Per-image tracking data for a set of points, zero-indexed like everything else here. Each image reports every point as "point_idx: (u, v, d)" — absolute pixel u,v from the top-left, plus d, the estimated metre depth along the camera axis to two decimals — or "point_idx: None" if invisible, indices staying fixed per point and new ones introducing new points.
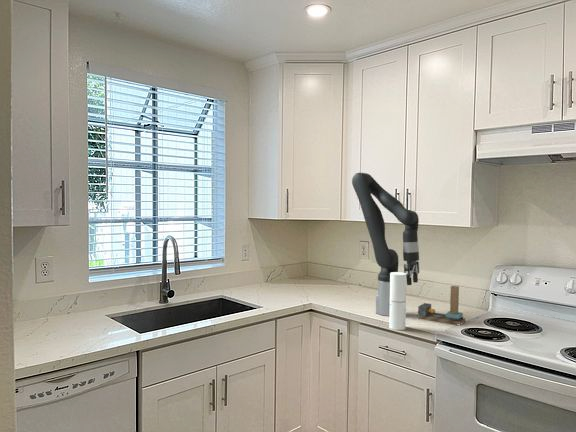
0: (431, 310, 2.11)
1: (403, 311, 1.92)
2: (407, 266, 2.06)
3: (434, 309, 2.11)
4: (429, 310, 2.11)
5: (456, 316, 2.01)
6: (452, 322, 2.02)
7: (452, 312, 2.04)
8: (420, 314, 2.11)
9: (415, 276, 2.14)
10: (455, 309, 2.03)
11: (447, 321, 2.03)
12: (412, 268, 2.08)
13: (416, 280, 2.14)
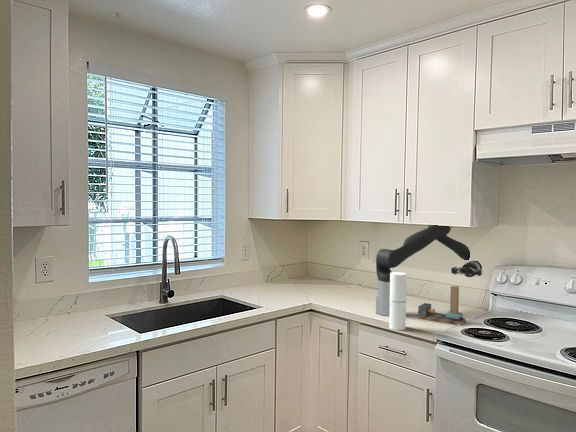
0: (431, 310, 2.11)
1: (403, 311, 1.92)
2: (481, 273, 2.19)
3: (434, 309, 2.11)
4: (429, 310, 2.11)
5: (456, 316, 2.01)
6: (452, 322, 2.02)
7: (452, 312, 2.04)
8: (420, 314, 2.11)
9: (456, 272, 2.21)
10: (455, 309, 2.03)
11: (447, 321, 2.03)
12: None
13: (455, 273, 2.19)
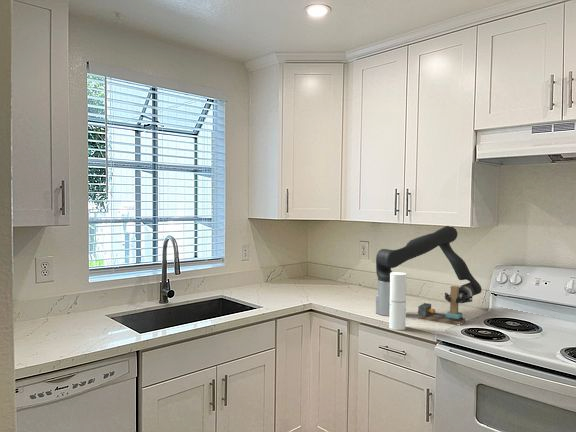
0: (431, 310, 2.11)
1: (403, 311, 1.92)
2: (471, 300, 2.06)
3: (434, 309, 2.11)
4: (429, 310, 2.11)
5: (456, 316, 2.01)
6: (452, 322, 2.02)
7: (452, 312, 2.04)
8: (420, 314, 2.11)
9: None
10: (455, 309, 2.03)
11: (447, 321, 2.03)
12: None
13: (449, 300, 2.05)
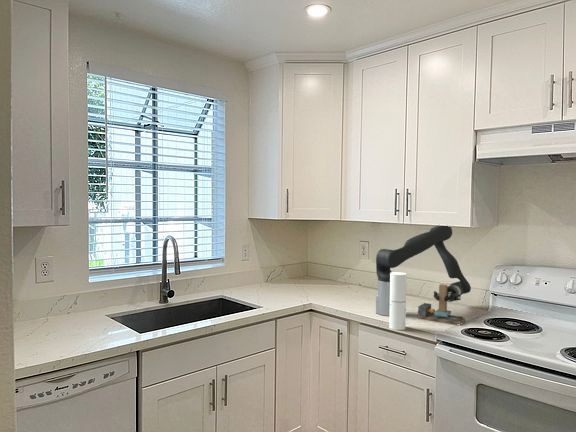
0: (431, 310, 2.11)
1: (403, 311, 1.92)
2: (459, 298, 2.09)
3: (434, 309, 2.11)
4: (429, 310, 2.11)
5: (444, 314, 2.05)
6: (452, 322, 2.02)
7: (440, 310, 2.08)
8: (420, 314, 2.11)
9: None
10: (443, 307, 2.07)
11: (447, 321, 2.03)
12: None
13: (438, 299, 2.08)
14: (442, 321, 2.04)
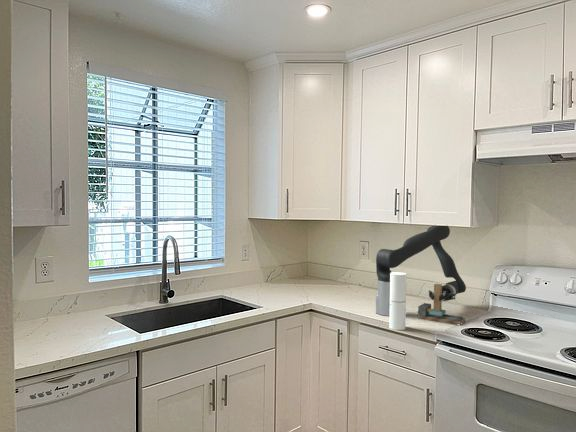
0: (428, 310, 2.12)
1: (403, 311, 1.92)
2: (454, 298, 2.11)
3: (431, 309, 2.12)
4: None
5: (439, 313, 2.06)
6: (452, 322, 2.02)
7: (435, 309, 2.09)
8: (420, 314, 2.11)
9: None
10: (438, 306, 2.08)
11: (447, 321, 2.03)
12: None
13: (433, 298, 2.09)
14: (442, 321, 2.04)
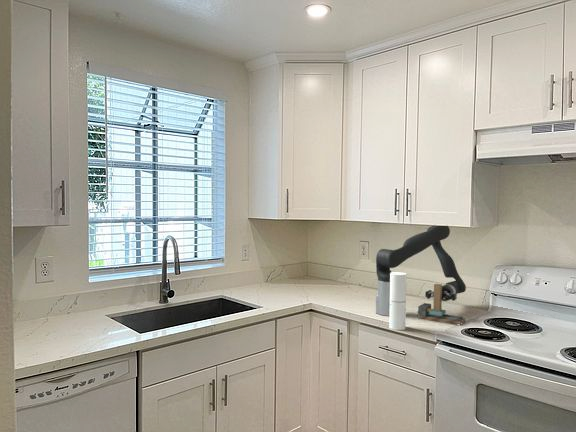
0: (428, 310, 2.12)
1: (403, 311, 1.92)
2: (456, 297, 2.12)
3: (431, 309, 2.12)
4: None
5: (439, 313, 2.06)
6: (452, 322, 2.02)
7: (435, 309, 2.09)
8: (420, 314, 2.11)
9: (430, 296, 2.13)
10: (438, 306, 2.08)
11: (447, 321, 2.03)
12: None
13: (428, 297, 2.12)
14: (442, 321, 2.04)
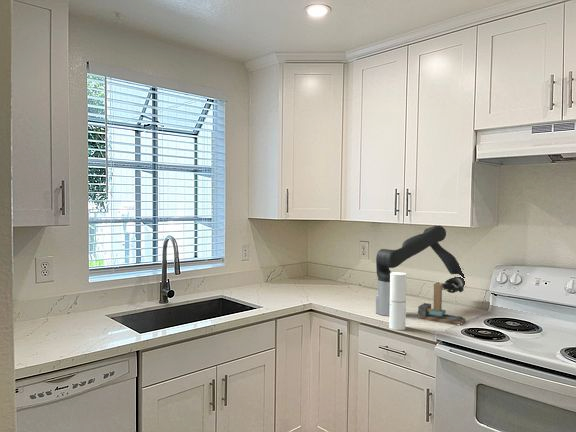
0: (428, 310, 2.12)
1: (403, 311, 1.92)
2: (463, 289, 2.22)
3: (431, 309, 2.12)
4: None
5: (439, 313, 2.06)
6: (452, 322, 2.02)
7: (435, 309, 2.09)
8: (420, 314, 2.11)
9: None
10: (438, 306, 2.08)
11: (447, 321, 2.03)
12: None
13: None
14: (442, 321, 2.04)
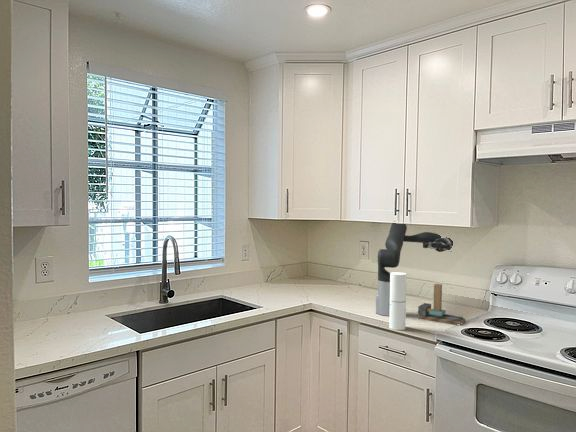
0: (428, 310, 2.12)
1: (403, 311, 1.92)
2: (451, 247, 2.30)
3: (431, 309, 2.12)
4: None
5: (439, 313, 2.06)
6: (452, 322, 2.02)
7: (435, 309, 2.09)
8: (420, 314, 2.11)
9: (427, 246, 2.32)
10: (438, 306, 2.08)
11: (447, 321, 2.03)
12: None
13: (426, 247, 2.30)
14: (442, 321, 2.04)
